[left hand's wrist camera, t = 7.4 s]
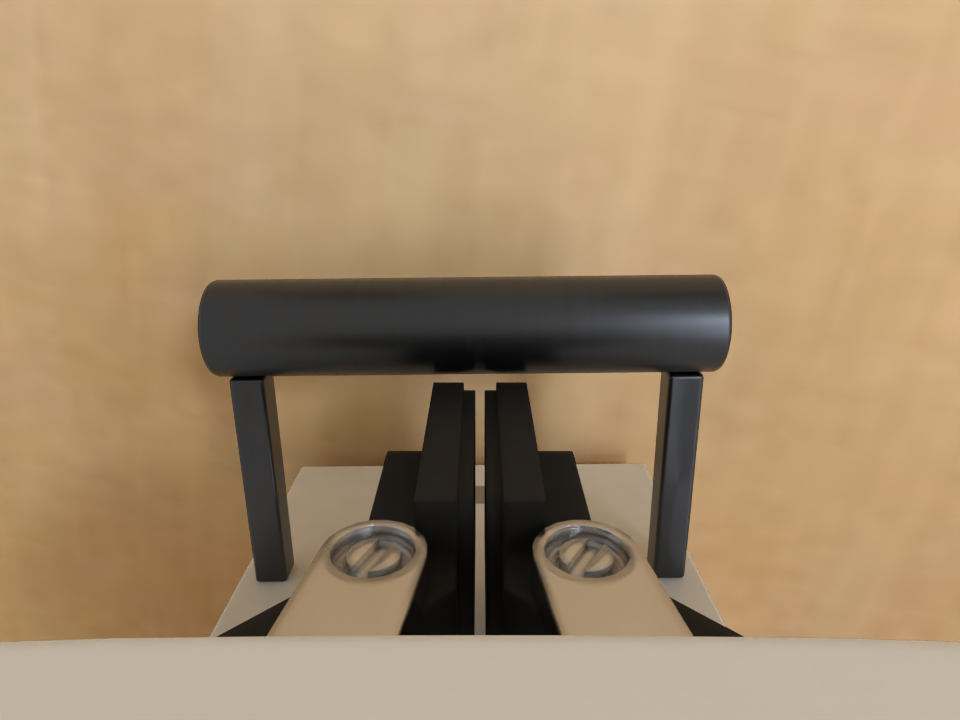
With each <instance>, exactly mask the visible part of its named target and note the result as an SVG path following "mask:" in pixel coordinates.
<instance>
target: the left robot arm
mask: <svg viewBox="0 0 960 720" xmlns="http://www.w3.org/2000/svg"><path fill="white" fill-rule="evenodd" d="M475 540H476V491H475V390H464V383H434V384H433V390H432V396H431V401H430V407H429V413H428V419H427V425H426V431H425V437H424V443H423V449H422V451H388V452H387V455H386V458H385V462H384V466H383V469H382V473H381V477H380V480H379V484H378V488H377V492H376V495H375V499H374V503H373V506H372V510H371V514H370V518H369V521H364V522H359V523H355V524H352V525H350V526H347V527H344V528H342V529H340V530H339V531H337V532H336V533H334V534H333V535H331V536H330V537H329V538H328V539H327V540H326V541H325V542H324V544H323V545H322V546H321V548H320V549H319V551H318V553H317V554H316V556H315V557H314V559H313V561H312V562H311V564H310V566H309V567H308V569H307V571H306V572H305V574H304V576H303V577H302V579H301V580H300V582H299V584H298V585H297V587H296V589H295V590H294V592H293V594H292V595H291V597H289V598H287V599H286V600H284V601H282V602H280V603H278V604H276V605H274V606H273V607H271V608H269V609H267V610H265V611H263V612H261V613H260V614H258V615H256V616H254V617H252V618H250V619H248V620H247V621H245V622H243V623H241V624H239V625H237V626H235V627H233V628H232V629H230V630H228V631H226V632H224V633H222V634H220V635H219V636H217V637H176V638H107V639H76V640H46V641H15V642H0V720H960V642H947V641H917V640H882V639H847V638H800V637H743V636H741V635H740V634H738V633H736V632H734V631H732V630H730V629H728V628H727V627H725V626H723V625H721V624H719V623H717V622H715V621H713V620H712V619H710V618H708V617H706V616H704V615H702V614H700V613H699V612H697V611H695V610H693V609H691V608H689V607H687V606H686V605H684V604H682V603H680V602H678V601H676V600H674V599H673V598H671V597H669V595H668V594H667V592H666V590H665V589H664V587H663V585H662V584H661V582H660V580H659V579H658V577H657V576H656V574H655V572H654V571H653V569H652V567H651V566H650V564H649V562H648V561H647V559H646V557H645V556H644V554H643V553H642V551H641V549H640V548H639V546H638V545H637V544H636V542H635V541H634V540H633V539H632V538H631V537H630V536H629V535H627V534H626V533H624V532H623V531H621V530H620V529H618V528H616V527H613V526H610V525H608V524H605V523H601V522H596V521H591V518H590V514H589V510H588V506H587V503H586V499H585V495H584V492H583V488H582V484H581V480H580V477H579V473H578V469H577V466H576V462H575V458H574V455H573V452H572V451H538V449H537V443H536V437H535V431H534V425H533V419H532V413H531V407H530V401H529V396H528V390H527V384H526V383H496V390H485V492H484V540H485V635H475Z"/></svg>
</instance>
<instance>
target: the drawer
mask: <svg viewBox="0 0 960 720" xmlns="http://www.w3.org/2000/svg"><path fill="white" fill-rule="evenodd" d="M731 333H732V311H731V303H730V298H729V294H728V290H727V287H726V285H725V283H724V281H723V280H722V279H721V278H720V277H718V276H716V275H636V276H545V277H453V278H361V279H270V280H216V281H213V282H211V283H210V284H209V285H208V286H207V287H206V289H205V290H204V293H203V295H202V298H201V302H200V306H199V314H198V337H199V344H200V349H201V353H202V356H203V359H204V362H205V364H206V366H207V368H208V369H209V370H210V371H211V372H212V373H213V374H215V375H217V376H233V377H232V378H231V379H230V388H231V396H232V403H233V411H234V418H235V425H236V433H237V440H238V448H239V455H240V462H241V470H242V477H243V485H244V492H245V499H246V507H247V514H248V522H249V529H250V536H251V544H252V551H253V558H252V560H251V562H250V563H249V565H248V567H247V569H246V571H245V573H244V574H243V576H242V578H241V580H240V582H239V584H238V585H237V587H236V589H235V591H234V593H233V595H232V596H231V598H230V600H229V602H228V604H227V606H226V607H225V609H224V611H223V613H222V615H221V617H220V619H219V620H218V622H217V624H216V626H215V628H214V630H213V631H212V633H211V635H210V637H217V636H219V635H220V634H222V633H224V632H226V631H228V630H230V629H232V628H233V627H235V626H237V625H239V624H241V623H243V622H245V621H247V620H248V619H250V618H252V617H254V616H256V615H258V614H260V613H261V612H263V611H265V610H267V609H269V608H271V607H273V606H274V605H276V604H278V603H280V602H282V601H284V600H286V599H287V598H289V597H291V595H292V594H293V592H294V590H295V589H296V587H297V585H298V584H299V582H300V580H301V579H302V577H303V576H304V574H305V572H306V571H307V569H308V567H309V566H310V564H311V562H312V561H313V559H314V557H315V556H316V554H317V553H318V551H319V549H320V548H321V546H322V545H323V544H324V542H325V541H326V540H327V539H328V538H329V537H330V536H331V535H333V534H334V533H336V532H337V531H339V530H340V529H342V528H344V527H347V526H350V525H352V524H355V523H359V522H364V521H369V518H370V514H371V510H372V506H373V503H374V499H375V495H376V492H377V488H378V484H379V480H380V477H381V473H382V469H383V466H319V467H302V468H301V470H300V472H299V473H298V475H297V477H296V479H295V481H294V483H293V484H292V486H291V488H290V490H289V492H288V494H286V485H285V476H284V468H283V459H282V450H281V441H280V432H279V423H278V415H277V406H276V397H275V388H274V379H273V376H319V375H417V374H516V373H615V372H661V384H660V397H659V410H658V423H657V436H656V450H655V463H654V476H653V480H652V478H651V476H650V474H649V472H648V470H647V468H646V466H645V464H642V463H638V464H576V466H577V469H578V473H579V477H580V480H581V484H582V488H583V492H584V495H585V499H586V503H587V506H588V510H589V514H590V518H591V521H596V522H601V523H605V524H608V525H610V526H613V527H616V528H618V529H620V530H621V531H623V532H624V533H626V534H627V535H629V536H630V537H631V538H632V539H633V540H634V541H635V542H636V544H637V545H638V546H639V548H640V549H641V551H642V553H643V554H644V556H645V557H646V559H647V561H648V562H649V564H650V566H651V567H652V569H653V571H654V572H655V574H656V576H657V577H658V579H659V580H660V582H661V584H662V585H663V587H664V589H665V590H666V592H667V594H668V595H669V597H671V598H673V599H674V600H676V601H678V602H680V603H682V604H684V605H686V606H687V607H689V608H691V609H693V610H695V611H697V612H699V613H700V614H702V615H704V616H706V617H708V618H710V619H712V620H713V621H715V622H717V623H719V624H721V625H723V626H725V624H724V622H723V620H722V618H721V616H720V614H719V612H718V610H717V608H716V606H715V604H714V602H713V600H712V598H711V596H710V594H709V592H708V590H707V588H706V586H705V584H704V582H703V580H702V578H701V576H700V574H699V572H698V570H697V568H696V566H695V564H694V562H693V560H692V558H691V556H690V554H689V552H688V550H687V542H688V532H689V521H690V511H691V501H692V491H693V480H694V470H695V460H696V450H697V439H698V429H699V419H700V408H701V398H702V388H703V378H704V377H703V375H702V373H701V372H713V371H716V370H718V369H719V368H721V366H722V365H723V364H724V362H725V360H726V357H727V354H728V351H729V346H730V341H731ZM475 491H476V540H475V635H485V540H484V492H485V465H475ZM725 627H726V626H725Z"/></svg>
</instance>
